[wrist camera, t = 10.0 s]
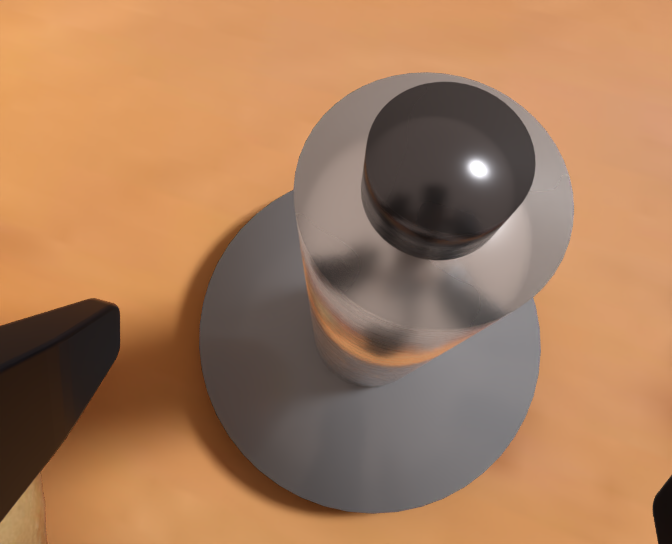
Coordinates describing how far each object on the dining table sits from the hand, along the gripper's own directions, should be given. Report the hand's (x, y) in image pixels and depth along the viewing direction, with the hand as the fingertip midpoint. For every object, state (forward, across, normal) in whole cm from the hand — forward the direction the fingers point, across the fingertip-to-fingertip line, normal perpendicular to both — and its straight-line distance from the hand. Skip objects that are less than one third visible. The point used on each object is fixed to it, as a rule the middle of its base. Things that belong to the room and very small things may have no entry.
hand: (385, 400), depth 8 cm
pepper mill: (+11, 0, +6) cm, 13 cm away
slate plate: (+12, 0, +7) cm, 14 cm away
